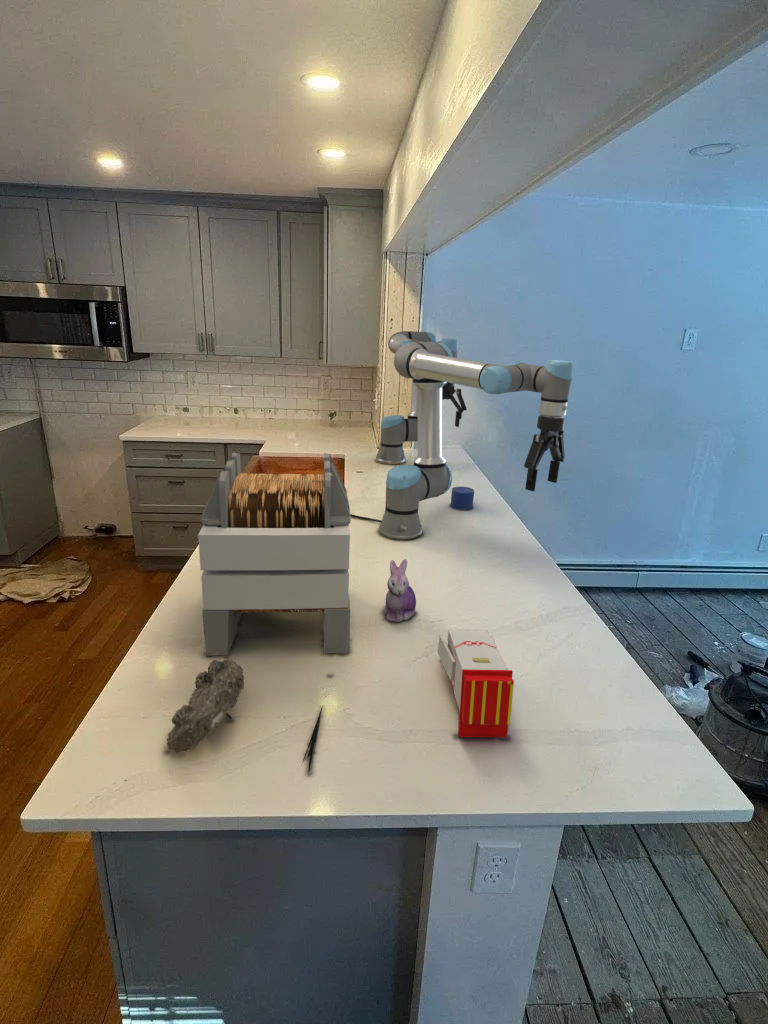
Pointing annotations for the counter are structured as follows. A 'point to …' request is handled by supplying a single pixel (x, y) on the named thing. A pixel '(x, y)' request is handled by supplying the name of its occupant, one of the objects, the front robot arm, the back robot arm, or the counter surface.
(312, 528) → the transformer
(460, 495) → the canister
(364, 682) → the counter surface
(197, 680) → the fossil
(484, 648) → the toy
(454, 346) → the back robot arm
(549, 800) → the counter surface
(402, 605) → the figurine
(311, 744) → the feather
